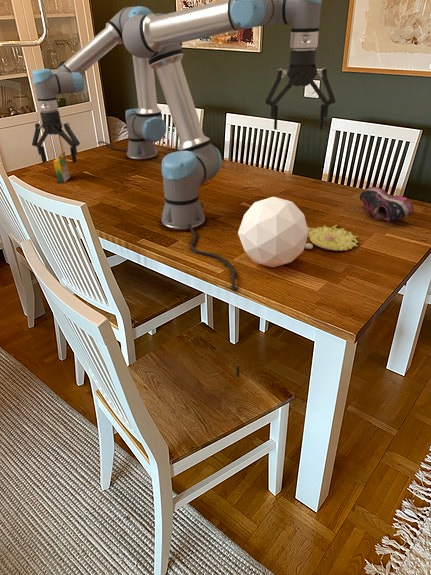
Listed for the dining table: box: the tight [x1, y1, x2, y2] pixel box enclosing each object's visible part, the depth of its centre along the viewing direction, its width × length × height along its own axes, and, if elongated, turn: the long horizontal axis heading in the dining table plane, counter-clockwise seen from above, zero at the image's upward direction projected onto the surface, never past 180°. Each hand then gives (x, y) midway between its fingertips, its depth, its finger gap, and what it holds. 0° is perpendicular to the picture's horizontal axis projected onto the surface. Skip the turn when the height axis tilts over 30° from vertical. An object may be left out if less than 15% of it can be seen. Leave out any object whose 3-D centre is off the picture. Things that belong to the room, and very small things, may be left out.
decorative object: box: [304, 224, 359, 252], centre depth 141 cm, size 21×2×20 cm
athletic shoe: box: [359, 186, 414, 223], centre depth 153 cm, size 11×22×12 cm
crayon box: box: [53, 151, 71, 184], centre depth 195 cm, size 7×3×12 cm, turn 175°
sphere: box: [237, 196, 309, 268], centre depth 125 cm, size 19×20×20 cm
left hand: (59, 162), depth 194 cm, fingers open, 13 cm apart
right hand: (297, 128), depth 134 cm, fingers open, 13 cm apart
